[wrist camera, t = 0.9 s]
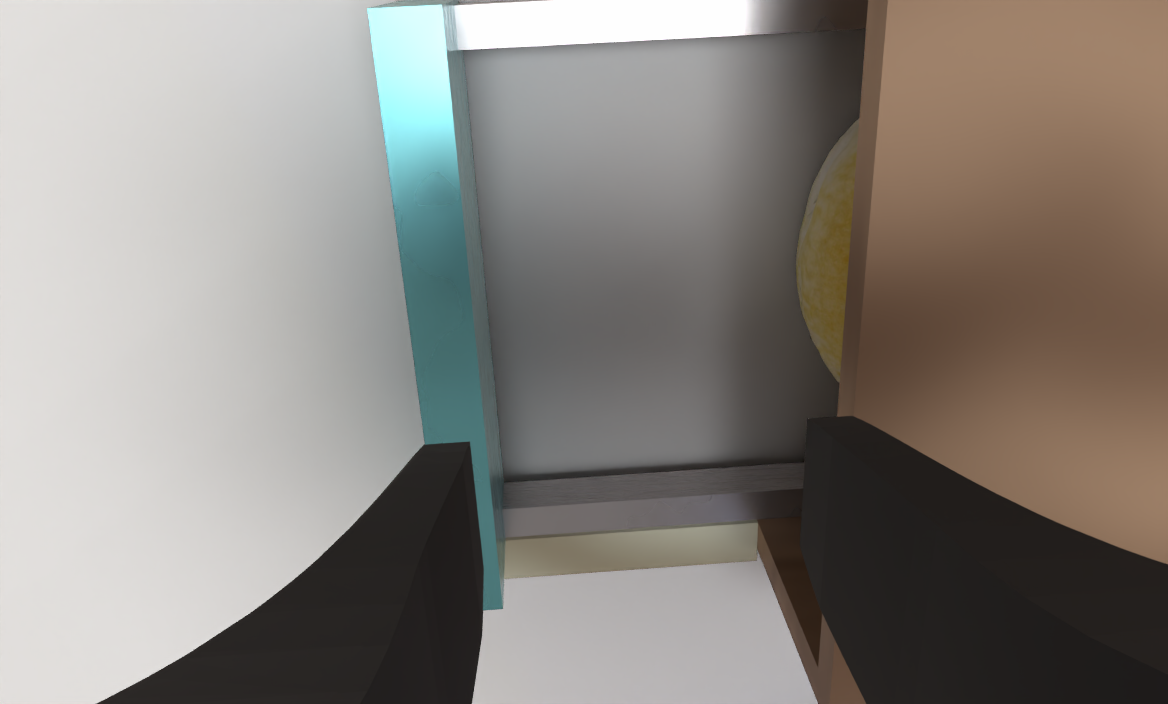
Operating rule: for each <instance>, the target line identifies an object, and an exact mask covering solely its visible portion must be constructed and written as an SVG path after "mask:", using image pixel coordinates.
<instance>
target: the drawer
mask: <svg viewBox="0 0 1168 704" xmlns="http://www.w3.org/2000/svg"><path fill="white" fill-rule="evenodd" d="M367 10H368V18H369V26H370V33H371V41H372V48H373V56H374V63H375V71H376V78H377V86H378V94H379V101H380V109H381V116H382V124H383V131H384V139H385V146H386V154H387V162H388V169H389V177H390V184H391V192H392V199H393V207H394V214H395V222H396V230H397V237H398V245H399V252H400V260H401V267H402V275H403V282H404V290H405V298H406V305H407V313H408V320H409V328H410V335H411V343H412V350H413V358H414V365H415V373H416V381H417V388H418V396H419V403H420V411H421V418H422V426H423V433H424V441H425V444H440V443H454V442H469V441H470V446H471V455H472V464H473V474H474V483H475V492H476V501H477V510H478V519H479V528H480V538H481V547H482V556H483V565H484V586H483V610H495V609H503V594H504V570H505V545H506V537H520V536H534V535H548V534H562V533H576V532H590V531H604V530H618V529H632V528H647V527H661V526H675V525H689V524H703V523H717V522H731V521H745V520H759V519H773V518H787V517H801V515H802V498H803V482H804V465H805V462H799V463H784V464H770V465H755V466H741V467H726V468H712V469H697V470H683V471H668V472H654V473H639V474H625V475H610V476H596V477H581V478H567V479H552V480H538V481H523V482H509V483H504V478H503V468H502V457H501V446H500V436H499V425H498V414H497V404H496V393H495V383H494V372H493V361H492V351H491V340H490V330H489V319H488V308H487V298H486V287H485V277H484V266H483V255H482V245H481V234H480V223H479V213H478V202H477V192H476V181H475V170H474V160H473V149H472V139H471V128H470V117H469V107H468V96H467V85H466V75H465V64H464V54H463V50H471V49H490V48H509V47H528V46H547V45H567V44H586V43H605V42H624V41H643V40H662V39H681V38H700V37H719V36H738V35H757V34H776V33H795V32H814V31H833V30H852V29H866V23H867V10H868V0H513V1H494V2H474V3H459V1H458V0H407V1H396V2H392V3H388V4H384V5H380V6H376V7H372V8H367Z"/></svg>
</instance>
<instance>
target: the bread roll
mask: <svg viewBox="0 0 1168 704" xmlns="http://www.w3.org/2000/svg"><path fill="white" fill-rule="evenodd" d="M858 130H859V119H857V120H856V121H855V122H854V123H853V124H852V125H851V126H850V127H849V129H848V130H847V131H846V132H845V133H844V134H843V135H842V136H841V137H840V139H839V140H838V141H837V143H836V144H835V145H834V147H833V148H832V149H831V151H830V152H829V154H828V156H827V158H826V159H825V161H824V163H823V165H822V167H821V169H820V171H819V173H818V175H817V177H816V179H815V181H814V183H813V185H812V188H811V191H810V194H809V197H808V202H807V206H806V210H805V214H804V218H803V221H802V225H801V228H800V233H799V240H798V247H797V255H796V277H797V289H798V294H799V301H800V307H801V312H802V315H803V317H804V320H805V322H806V325H807V327H808V329H809V332H810V335H811V336H810V338H811V339H812V340H813V342H814V344H815V346H816V348H817V349H818V351H819V353H820V356H821V358H822V360H823V361H824V363H825V364H826V366H827V367H828V369H829V370H830V372H831V373H832V375H833V376H834V378H835V379H836V380H837V381H838V382H839V383H840V370H841V357H842V343H843V330H844V317H845V303H846V290H847V277H848V263H849V250H850V237H851V223H852V210H853V197H854V183H855V170H856V157H857V143H858Z"/></svg>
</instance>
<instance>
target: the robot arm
mask: <svg viewBox="0 0 1168 704" xmlns="http://www.w3.org/2000/svg"><path fill="white" fill-rule="evenodd" d="M800 548H801V552H802V555H803V558H804V561H805V565H806V568H807V571H808V574H809V578H810V581H811V584H812V587H813V590H814V593H815V595H816V598H817V601H818V604H819V607H820V610H821V612H822V614H823V616H824V618H825V620H826V623H827V625H828V627H829V629H830V631H831V633H832V635H833V637H834V639H835V641H836V643H837V645H838V647H839V650H840V652H841V654H842V656H843V658H844V660H845V662H846V664H847V666H848V668H849V670H850V672H851V674H852V676H853V678H854V680H855V682H856V684H857V686H858V688H859V690H860V692H861V694H862V696H863V698H864V700H865V702H866V704H1168V564H1166V563H1162V562H1159V561H1156V560H1153V559H1150V558H1147V557H1145V556H1142V555H1139V554H1136V553H1133V552H1130V551H1128V550H1125V549H1122V548H1119V547H1117V546H1114V545H1112V544H1109V543H1107V542H1104V541H1102V540H1099V539H1097V538H1094V537H1092V536H1089V535H1087V534H1084V533H1082V532H1079V531H1077V530H1074V529H1072V528H1069V527H1067V526H1064V525H1062V524H1060V523H1058V522H1055V521H1053V520H1051V519H1049V518H1046V517H1044V516H1042V515H1040V514H1037V513H1035V512H1033V511H1031V510H1029V509H1027V508H1025V507H1023V506H1021V505H1019V504H1017V503H1015V502H1013V501H1011V500H1009V499H1007V498H1005V497H1002V496H1000V495H998V494H996V493H994V492H992V491H990V490H989V489H987V488H985V487H983V486H981V485H979V484H977V483H975V482H973V481H971V480H970V479H968V478H966V477H964V476H962V475H960V474H958V473H957V472H955V471H953V470H951V469H949V468H948V467H946V466H944V465H942V464H940V463H939V462H937V461H935V460H933V459H932V458H930V457H928V456H926V455H924V454H923V453H921V452H919V451H917V450H916V449H914V448H912V447H910V446H909V445H907V444H905V443H903V442H902V441H900V440H898V439H896V438H895V437H893V436H891V435H889V434H888V433H886V432H884V431H882V430H880V429H879V428H877V427H875V426H873V425H871V424H869V423H867V422H865V421H863V420H861V419H859V418H856V417H854V416H841V417H826V418H811V419H807V432H806V448H805V465H804V482H803V498H802V515H801V531H800ZM483 586H484V565H483V556H482V547H481V538H480V528H479V519H478V510H477V501H476V492H475V483H474V474H473V464H472V455H471V446H470V441H469V442H454V443H440V444H425V445H423V446H422V448H421V449H420V450H419V451H418V452H417V453H416V454H415V455H414V456H413V457H412V458H411V460H410V461H409V462H408V463H407V464H406V466H405V467H404V468H403V469H402V470H401V471H400V473H399V474H398V475H397V476H396V477H395V479H394V480H393V481H392V482H391V483H390V484H389V486H388V487H387V488H386V489H385V490H384V491H383V493H382V494H381V495H380V496H379V497H378V498H377V499H376V500H375V501H374V503H373V504H372V505H371V506H370V507H369V508H368V509H367V510H366V511H365V512H364V514H363V515H362V516H361V517H360V518H359V519H358V520H357V521H356V522H355V523H354V524H353V525H352V526H351V528H349V529H348V530H347V531H346V532H345V533H344V534H343V535H342V536H341V537H340V538H339V539H338V540H337V541H336V542H335V543H334V544H333V545H332V546H331V547H330V548H329V549H328V550H327V551H326V552H325V553H324V554H323V555H322V556H321V557H320V558H319V559H317V560H316V561H315V562H314V563H313V564H312V565H311V566H309V567H308V568H307V569H306V570H305V571H304V572H303V573H301V574H300V575H299V576H298V577H297V578H295V579H294V580H293V581H292V582H291V583H289V584H288V585H287V586H285V587H284V588H283V589H282V590H280V591H279V592H278V593H276V594H275V595H274V596H272V597H271V598H270V599H269V600H267V601H266V602H265V603H263V604H262V605H261V606H259V607H258V608H257V609H255V610H254V611H253V612H251V613H250V614H248V615H247V616H245V617H244V618H242V619H241V620H239V621H238V622H236V623H235V624H233V625H232V626H230V627H228V628H227V629H225V630H224V631H222V632H221V633H219V634H218V635H216V636H215V637H213V638H212V639H210V640H209V641H207V642H206V643H204V644H203V645H201V646H199V647H198V648H196V649H195V650H193V651H192V652H190V653H189V654H187V655H185V656H184V657H182V658H180V659H179V660H177V661H175V662H173V663H172V664H170V665H168V666H166V667H165V668H163V669H161V670H159V671H158V672H156V673H154V674H152V675H150V676H149V677H147V678H145V679H143V680H141V681H139V682H137V683H136V684H134V685H132V686H130V687H128V688H126V689H124V690H122V691H120V692H118V693H117V694H115V695H113V696H111V697H109V698H107V699H105V700H103V701H101V702H99V703H97V704H472V698H473V692H474V686H475V679H476V672H477V666H478V659H479V652H480V645H481V638H482V623H483Z"/></svg>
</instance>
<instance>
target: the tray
mask: <svg viewBox="0 0 1168 704" xmlns="http://www.w3.org/2000/svg"><path fill="white" fill-rule="evenodd" d="M841 416H854V417H856V418H859V419H861V420H863V421H865V422H867V423H869V424H871V425H873V426H875V427H877V428H879V429H880V430H882V431H884V432H886V433H888V434H889V435H891V436H893V437H895V438H896V439H898V440H900V441H902V442H903V443H905V444H907V445H909V446H910V447H912V448H914V449H916V450H917V451H919V452H921V453H923V454H924V455H926V456H928V457H930V458H932V459H933V460H935V461H937V462H939V463H940V464H942V465H944V466H946V467H948V468H949V469H951V470H953V471H955V472H957V473H958V474H960V475H962V476H964V477H966V478H968V479H970V480H971V481H973V482H975V483H977V484H979V485H981V486H983V487H985V488H987V489H989V490H990V491H992V492H994V493H996V494H998V495H1000V496H1002V497H1005V498H1007V499H1009V500H1011V501H1013V502H1015V503H1017V504H1019V505H1021V506H1023V507H1025V508H1027V509H1029V510H1031V511H1033V512H1035V513H1037V514H1040V515H1042V516H1044V517H1046V518H1049V519H1051V520H1053V521H1055V522H1058V523H1060V524H1062V525H1064V526H1067V527H1069V528H1072V529H1074V530H1077V531H1079V532H1082V533H1084V534H1087V535H1089V536H1092V537H1094V538H1097V539H1099V540H1102V541H1104V542H1107V543H1109V544H1112V545H1114V546H1117V547H1119V548H1122V549H1125V550H1128V551H1130V552H1133V553H1136V554H1139V555H1142V556H1145V557H1147V558H1150V559H1153V560H1156V561H1159V562H1162V563H1166V564H1168V0H868V10H867V23H866V37H865V50H864V63H863V77H862V90H861V103H860V117H859V130H858V143H857V157H856V170H855V183H854V197H853V210H852V223H851V237H850V250H849V263H848V277H847V290H846V303H845V317H844V330H843V343H842V357H841V370H840V383H839V397H838V410H837V417H841ZM800 531H801V517H787V518H773V519H759V520H745V521H731V522H717V523H703V524H689V525H675V526H661V527H647V528H632V529H618V530H604V531H590V532H576V533H562V534H548V535H534V536H520V537H506V545H505V570H504V579H510V578H524V577H537V576H551V575H565V574H579V573H592V572H606V571H620V570H634V569H648V568H661V567H675V566H689V565H703V564H716V563H730V562H744V561H757V549H758V552H759V554H760V557H761V559H762V562H763V564H764V567H765V569H766V572H767V575H768V577H769V580H770V582H771V585H772V587H773V590H774V592H775V595H776V597H777V600H778V603H779V605H780V608H781V610H782V613H783V615H784V618H785V620H786V623H787V625H788V628H789V631H790V633H791V636H792V638H793V641H794V643H795V646H796V648H797V651H798V653H799V656H800V658H801V661H802V664H803V666H804V669H805V671H806V674H807V676H808V679H809V681H810V684H811V686H812V689H813V692H814V694H815V697H816V699H817V702H818V704H866V702H865V700H864V698H863V696H862V694H861V692H860V690H859V688H858V686H857V684H856V682H855V680H854V678H853V676H852V674H851V672H850V670H849V668H848V666H847V664H846V662H845V660H844V658H843V656H842V654H841V652H840V650H839V647H838V645H837V643H836V641H835V639H834V637H833V635H832V633H831V631H830V629H829V627H828V625H827V623H826V620H825V618H824V616H823V614H822V612H821V610H820V607H819V604H818V601H817V598H816V595H815V593H814V590H813V587H812V584H811V581H810V578H809V574H808V571H807V568H806V565H805V561H804V558H803V555H802V552H801V548H800Z"/></svg>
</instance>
